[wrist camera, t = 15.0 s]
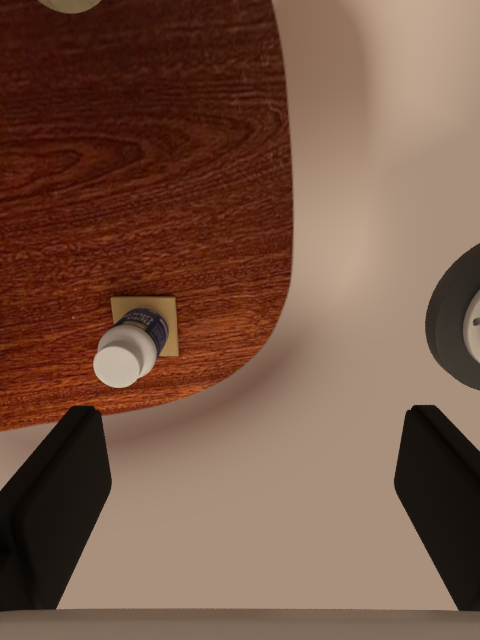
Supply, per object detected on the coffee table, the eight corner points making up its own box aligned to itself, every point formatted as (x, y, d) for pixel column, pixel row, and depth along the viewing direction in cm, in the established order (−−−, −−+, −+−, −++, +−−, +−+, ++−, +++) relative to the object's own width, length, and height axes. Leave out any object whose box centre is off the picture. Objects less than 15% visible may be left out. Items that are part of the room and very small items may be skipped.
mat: (175, 296, 38) (174, 297, 37) (179, 354, 40) (178, 356, 39) (112, 296, 38) (110, 297, 37) (119, 354, 40) (117, 356, 39)
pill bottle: (163, 300, 37) (138, 333, 28) (175, 345, 39) (155, 389, 30) (115, 309, 37) (75, 344, 28) (129, 353, 39) (96, 400, 30)
